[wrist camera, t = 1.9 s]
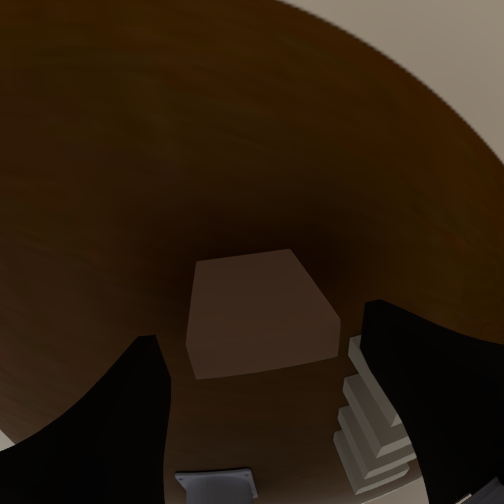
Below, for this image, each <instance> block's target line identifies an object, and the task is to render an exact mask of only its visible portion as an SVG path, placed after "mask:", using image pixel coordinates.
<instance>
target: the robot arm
mask: <svg viewBox="0 0 504 504" xmlns="http://www.w3.org/2000/svg"><path fill="white" fill-rule="evenodd" d="M359 348H360V350H361V352H362V354H363V357H364V359H365V361H366V363H367V365H368V368H369V370H370V371H371V373H372V374H373V376H374V378H375V379H376V381H377V382H378V384H379V385H380V387H381V389H382V390H383V392H384V393H385V395H386V396H387V398H388V400H389V401H390V403H391V404H392V406H393V407H394V409H395V411H396V412H397V414H398V416H399V418H400V419H401V421H402V423H403V425H404V428H405V430H406V432H407V434H408V437H409V439H410V441H411V444H412V447H413V449H414V452H415V454H416V457H417V460H418V463H419V466H420V469H421V472H422V476H423V479H424V483H425V487H426V491H427V495H428V500H429V504H456V503H457V502H459V501H460V500H462V499H463V498H465V497H466V496H468V495H469V494H471V495H472V496H471V497H469V498H468V499H466V500H465V501H464V502H462V503H461V504H504V345H502V344H497V343H492V342H487V341H483V340H479V339H476V338H473V337H469V336H466V335H463V334H460V333H457V332H455V331H452V330H450V329H447V328H444V327H442V326H439V325H437V324H435V323H432V322H430V321H428V320H426V319H424V318H421V317H419V316H417V315H415V314H413V313H411V312H408V311H406V310H404V309H402V308H400V307H398V306H395V305H393V304H391V303H388V302H386V301H383V300H380V299H379V300H375V301H370V302H366V303H365V309H364V318H363V326H362V333H361V340H360V347H359ZM170 404H171V377H170V375H169V372H168V369H167V367H166V364H165V361H164V358H163V356H162V353H161V350H160V347H159V344H158V341H157V338H156V335H149V336H138V337H137V338H136V339H135V341H134V342H133V343H132V344H131V345H130V346H129V347H128V348H127V350H126V351H125V352H124V353H123V354H122V355H121V357H120V358H119V359H118V360H117V361H116V362H115V363H114V364H113V366H112V367H111V368H110V369H109V370H108V371H107V372H106V374H105V375H104V376H103V377H102V378H101V379H100V380H99V381H98V382H97V383H96V384H95V385H94V386H93V387H92V388H91V389H90V390H89V391H88V392H87V393H86V394H85V395H84V396H83V397H82V398H81V399H80V400H79V401H78V402H77V403H76V404H74V405H73V406H72V407H71V408H70V409H69V410H67V411H66V412H65V413H64V414H62V415H61V416H60V417H59V418H57V419H56V420H54V421H53V422H51V423H50V424H49V425H47V426H46V427H44V428H43V429H42V430H40V431H39V432H37V433H35V434H34V435H32V436H30V437H29V438H27V439H25V440H23V441H21V442H20V443H18V444H16V445H14V446H12V447H9V448H7V449H5V450H2V451H0V504H165V501H164V483H163V461H164V450H165V442H166V434H167V427H168V419H169V412H170ZM175 478H176V479H177V480H178V481H179V483H180V484H181V485H182V486H183V488H184V489H185V490H186V501H187V504H254V502H253V498H257V497H258V494H257V491H256V487H255V484H254V480H253V477H252V473H251V470H250V469H239V470H229V471H217V472H199V473H176V474H175Z"/></svg>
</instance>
